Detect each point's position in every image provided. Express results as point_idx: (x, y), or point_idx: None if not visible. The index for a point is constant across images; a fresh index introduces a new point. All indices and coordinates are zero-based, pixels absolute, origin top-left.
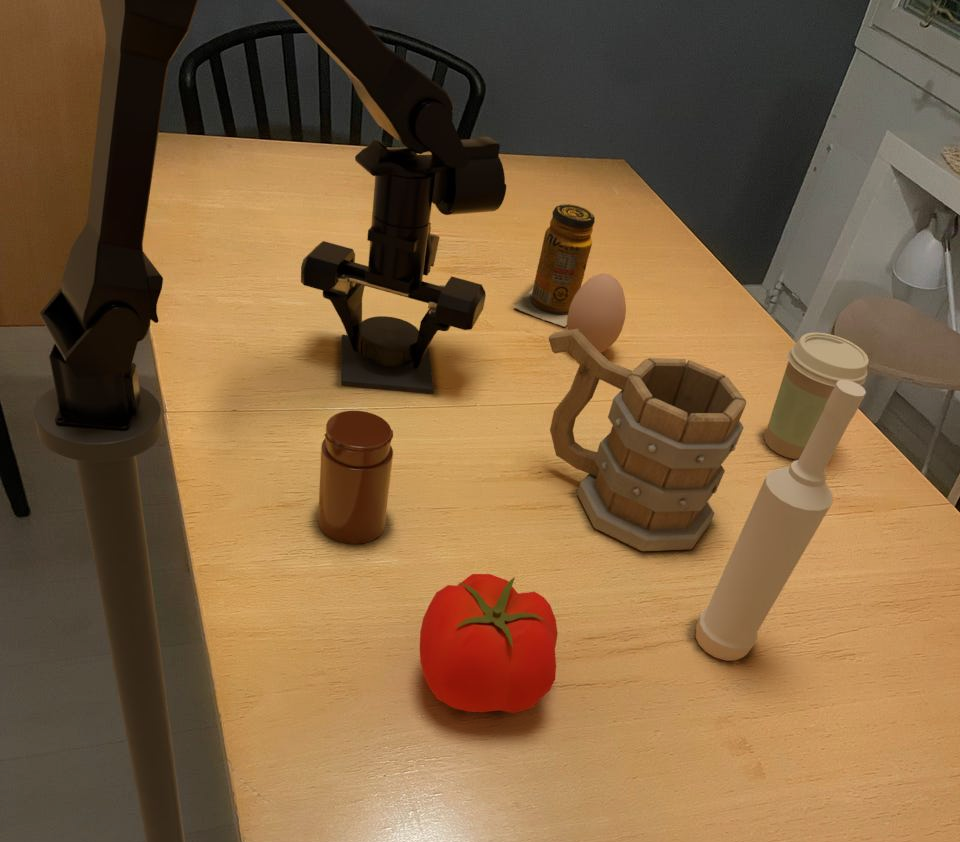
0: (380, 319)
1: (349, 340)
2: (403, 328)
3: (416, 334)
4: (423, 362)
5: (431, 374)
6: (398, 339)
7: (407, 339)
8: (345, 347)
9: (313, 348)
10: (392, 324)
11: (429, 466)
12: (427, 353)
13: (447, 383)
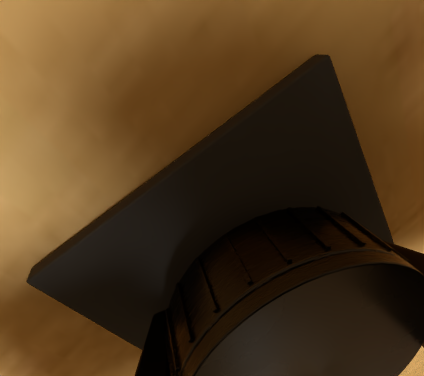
0: (237, 357)
1: (84, 285)
2: (362, 320)
3: (420, 304)
4: (351, 192)
5: (385, 223)
6: (365, 373)
7: (394, 350)
8: (114, 322)
9: (27, 361)
10: (308, 339)
11: (414, 372)
12: (349, 134)
13: (413, 195)
